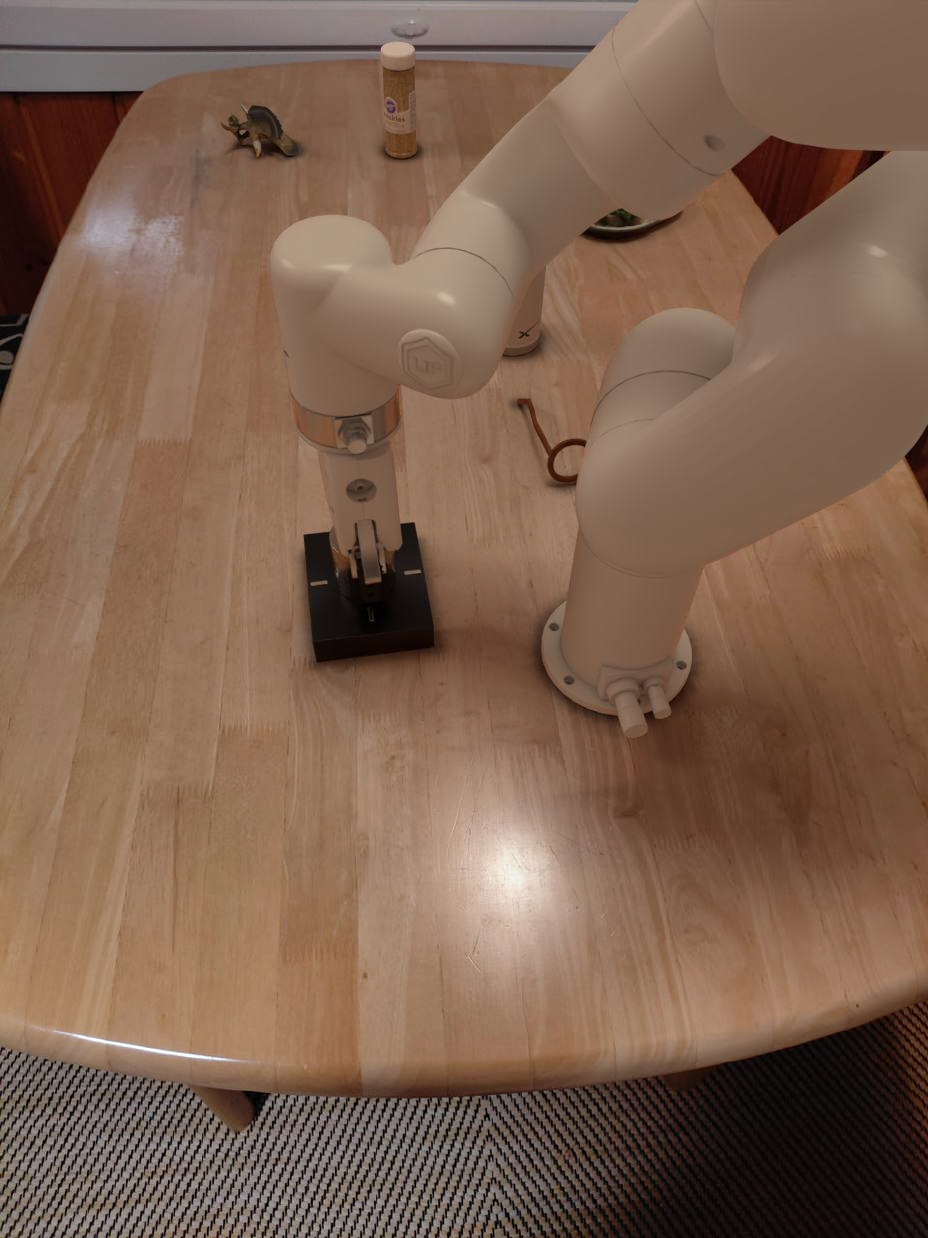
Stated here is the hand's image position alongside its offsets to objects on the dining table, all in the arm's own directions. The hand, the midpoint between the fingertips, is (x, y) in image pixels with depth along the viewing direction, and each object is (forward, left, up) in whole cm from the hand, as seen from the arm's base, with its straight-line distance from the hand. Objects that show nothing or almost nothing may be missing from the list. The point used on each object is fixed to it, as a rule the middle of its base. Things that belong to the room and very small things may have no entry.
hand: (365, 570), depth 79 cm
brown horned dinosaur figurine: (+83, +6, -4) cm, 83 cm away
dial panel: (0, 0, -4) cm, 4 cm away
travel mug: (+35, -20, -4) cm, 41 cm away
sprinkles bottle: (+80, -13, -4) cm, 81 cm away
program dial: (0, 0, -1) cm, 1 cm away
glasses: (+18, -25, -4) cm, 31 cm away
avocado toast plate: (+62, -38, -4) cm, 73 cm away
